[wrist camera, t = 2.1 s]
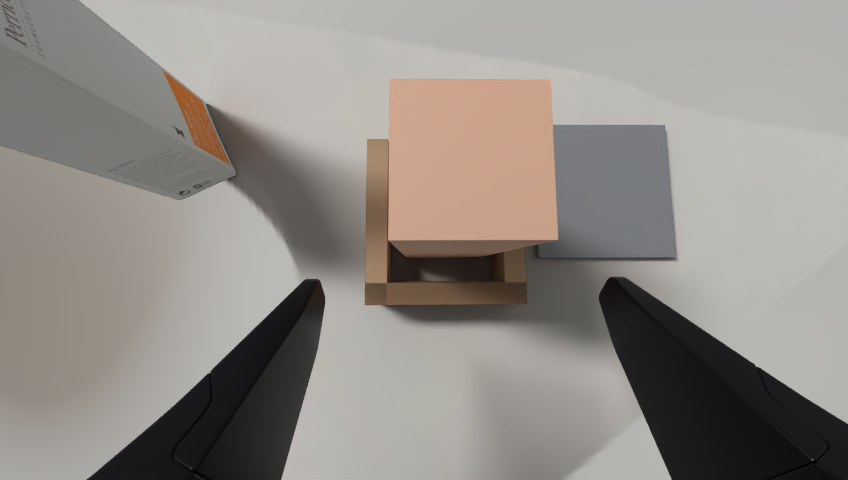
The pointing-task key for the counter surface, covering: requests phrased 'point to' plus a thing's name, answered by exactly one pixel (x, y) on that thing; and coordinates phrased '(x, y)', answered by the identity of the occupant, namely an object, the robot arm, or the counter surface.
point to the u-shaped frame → (384, 291)
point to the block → (470, 166)
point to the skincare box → (101, 102)
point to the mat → (611, 193)
